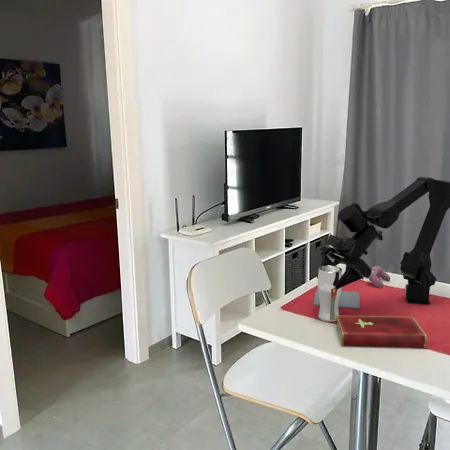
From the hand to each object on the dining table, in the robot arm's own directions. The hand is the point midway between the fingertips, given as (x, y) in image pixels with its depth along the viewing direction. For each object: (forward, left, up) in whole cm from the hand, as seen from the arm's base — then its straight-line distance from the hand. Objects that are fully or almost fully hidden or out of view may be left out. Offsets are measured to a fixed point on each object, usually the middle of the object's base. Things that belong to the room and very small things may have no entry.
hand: (326, 283), depth 140 cm
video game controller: (-17, -35, -11) cm, 40 cm away
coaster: (-3, -16, -11) cm, 20 cm away
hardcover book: (-14, +10, -11) cm, 21 cm away
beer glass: (-1, -1, -11) cm, 11 cm away
